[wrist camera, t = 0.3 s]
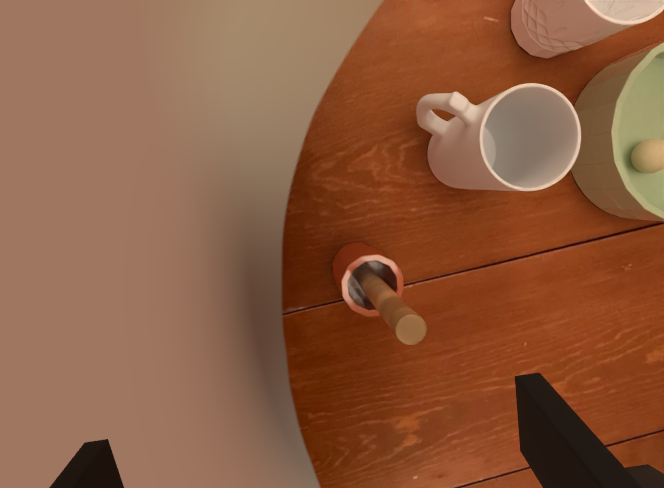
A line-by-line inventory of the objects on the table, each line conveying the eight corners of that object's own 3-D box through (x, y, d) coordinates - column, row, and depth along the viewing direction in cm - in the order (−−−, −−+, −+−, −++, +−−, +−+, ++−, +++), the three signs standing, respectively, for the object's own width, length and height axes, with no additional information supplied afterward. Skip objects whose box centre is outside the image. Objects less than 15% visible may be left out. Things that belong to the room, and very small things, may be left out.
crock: (344, 234, 40) (358, 244, 32) (390, 254, 41) (414, 269, 33) (323, 280, 40) (331, 301, 32) (368, 299, 41) (387, 325, 33)
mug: (510, 140, 40) (600, 118, 29) (472, 204, 41) (546, 210, 29) (416, 81, 39) (471, 33, 27) (378, 149, 39) (416, 130, 28)
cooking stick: (353, 256, 40) (403, 309, 22) (369, 263, 40) (432, 321, 22) (346, 272, 40) (390, 338, 22) (361, 279, 40) (418, 350, 22)
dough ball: (632, 135, 41) (659, 130, 38) (658, 149, 41) (687, 146, 38) (617, 165, 41) (642, 163, 38) (643, 179, 41) (670, 178, 38)
